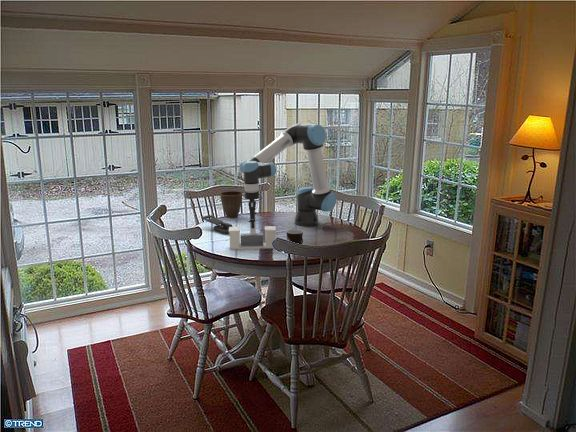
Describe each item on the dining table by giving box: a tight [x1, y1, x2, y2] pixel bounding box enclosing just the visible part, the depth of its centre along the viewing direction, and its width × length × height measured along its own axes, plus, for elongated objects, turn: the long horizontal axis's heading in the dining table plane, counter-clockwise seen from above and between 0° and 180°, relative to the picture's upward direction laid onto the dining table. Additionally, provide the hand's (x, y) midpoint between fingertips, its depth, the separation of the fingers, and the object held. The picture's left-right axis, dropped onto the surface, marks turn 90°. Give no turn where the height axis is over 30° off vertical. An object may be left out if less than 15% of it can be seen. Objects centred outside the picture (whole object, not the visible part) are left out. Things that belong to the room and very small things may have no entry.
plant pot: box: [219, 190, 244, 219], centre depth 326 cm, size 15×15×16 cm
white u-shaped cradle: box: [229, 225, 277, 250], centre depth 263 cm, size 25×8×10 cm, turn 94°
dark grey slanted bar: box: [201, 214, 234, 236], centre depth 296 cm, size 9×7×25 cm
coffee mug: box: [286, 228, 304, 245], centre depth 256 cm, size 12×9×10 cm
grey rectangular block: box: [240, 232, 264, 246], centre depth 263 cm, size 12×4×6 cm, turn 94°
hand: (253, 230), depth 262 cm, fingers open, 13 cm apart
